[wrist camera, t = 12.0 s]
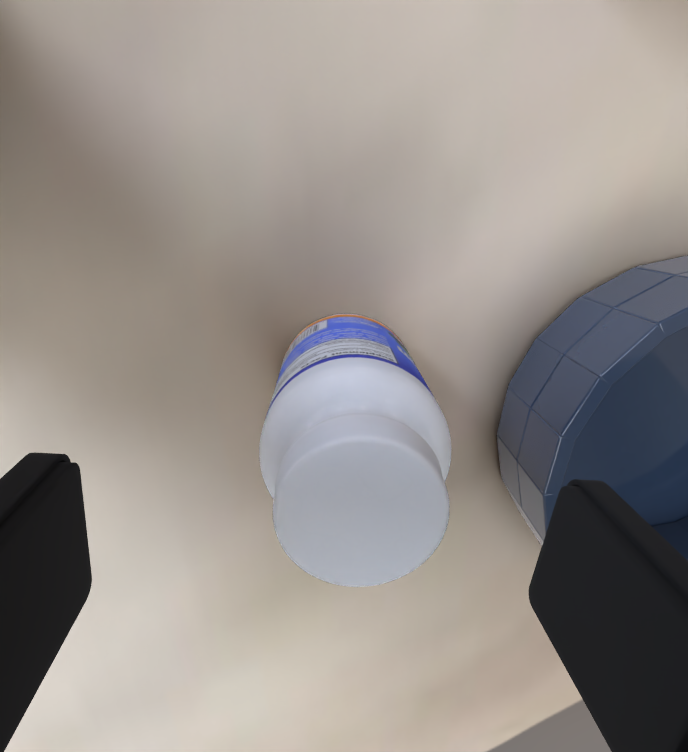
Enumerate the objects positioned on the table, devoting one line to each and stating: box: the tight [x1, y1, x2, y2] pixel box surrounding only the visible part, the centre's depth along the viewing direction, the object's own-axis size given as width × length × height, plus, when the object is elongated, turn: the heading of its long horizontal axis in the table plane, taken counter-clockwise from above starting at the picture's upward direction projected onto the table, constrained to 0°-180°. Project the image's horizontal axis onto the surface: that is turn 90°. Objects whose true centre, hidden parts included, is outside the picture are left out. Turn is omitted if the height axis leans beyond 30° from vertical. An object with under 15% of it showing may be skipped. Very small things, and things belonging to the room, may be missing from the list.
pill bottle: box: [259, 314, 451, 587], centre depth 15 cm, size 5×5×10 cm
